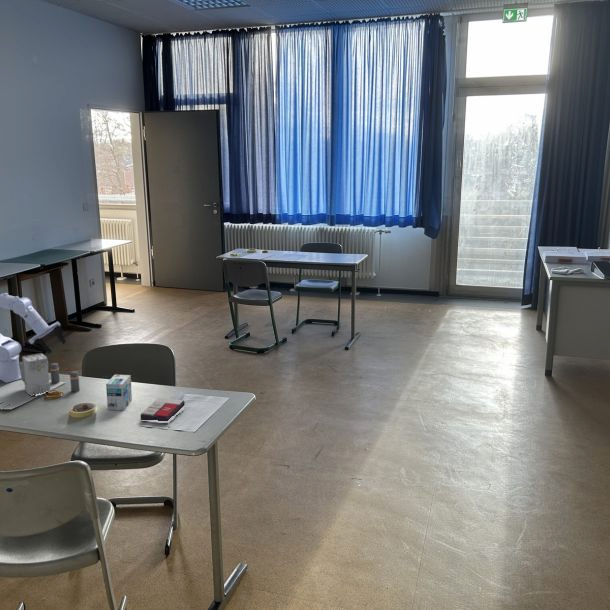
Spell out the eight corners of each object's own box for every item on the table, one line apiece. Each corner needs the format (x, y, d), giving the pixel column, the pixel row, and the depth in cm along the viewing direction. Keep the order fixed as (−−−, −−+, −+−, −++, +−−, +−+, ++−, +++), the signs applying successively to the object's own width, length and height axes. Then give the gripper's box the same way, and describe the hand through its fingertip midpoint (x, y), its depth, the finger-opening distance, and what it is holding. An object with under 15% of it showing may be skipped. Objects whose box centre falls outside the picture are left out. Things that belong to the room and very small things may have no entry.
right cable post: (69, 390, 248) (67, 372, 246) (76, 388, 251) (75, 370, 249) (74, 393, 246) (72, 374, 244) (81, 390, 249) (80, 372, 247)
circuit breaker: (39, 383, 256) (36, 349, 253) (50, 393, 246) (47, 358, 242) (21, 386, 251) (17, 352, 248) (31, 397, 241) (27, 361, 237)
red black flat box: (139, 412, 221) (158, 395, 235) (140, 423, 222) (159, 405, 236) (167, 416, 218) (184, 398, 232) (168, 427, 220) (185, 409, 234)
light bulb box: (124, 411, 230) (123, 384, 228) (106, 410, 230) (105, 383, 228) (132, 400, 241) (131, 374, 238) (115, 399, 241) (114, 374, 238)
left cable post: (49, 382, 257) (48, 364, 255) (57, 380, 260) (55, 362, 258) (54, 384, 255) (52, 366, 253) (61, 382, 258) (60, 364, 256)
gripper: (24, 328, 245) (46, 354, 246) (53, 310, 255) (74, 335, 256) (19, 334, 250) (41, 359, 251) (48, 316, 260) (68, 340, 261)
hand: (57, 347), depth 254 cm, fingers open, 7 cm apart
